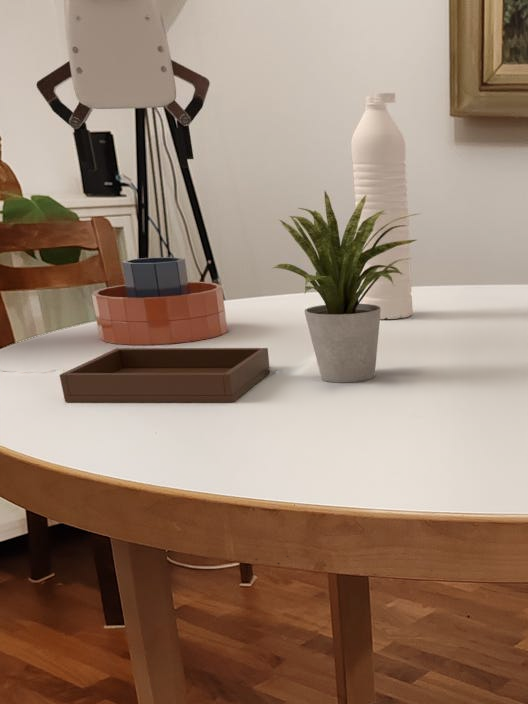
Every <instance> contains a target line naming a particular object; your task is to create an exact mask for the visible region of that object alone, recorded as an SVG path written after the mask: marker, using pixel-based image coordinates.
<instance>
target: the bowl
mask: <svg viewBox="0 0 528 704" xmlns="http://www.w3.org/2000/svg"><path fill="white" fill-rule="evenodd" d="M188 285H189V292H190V294H186V295H176V296H165V297H140V298H128V296H127V290H126V284H121V285H114V286H109V287H104V288H103V287H102V288H100V289H96V290H94V291H93V292H91V298H92V305H93V308H94V309H93V310H94V313H95V320H96V325H97V330H98V335H99V340H101V341H103V342H105V343H109V344H114V345H127V346H128V345H129V346H141V345H142V346H148V345H149V346H155V345H171V344H172V345H173V344H182V343H191V342H197V341H203V340H209V339H212V338H216V337H219V336H223V335H224V334H226V333H227V332H228V322H227V315H226V307H225V306H226V305H225V298H224V291H223V286H222V284H218V283H216V282H208V281H207V282H206V281H189V280H188Z"/></svg>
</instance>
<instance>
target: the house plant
mask: <svg viewBox="0 0 528 704" xmlns="http://www.w3.org/2000/svg"><path fill="white" fill-rule="evenodd" d="M365 198H366V195H365V196H364V197H363V199H362V200H361V202H360V203H359V204H358V206H357V208H356V207H355V210H354V212H353V213H352V215H351V217H350V218H349V220H348V222H347V223H346V227H345V230H344V233H343V235H342V238H341V239H340V232H339V225H338V221H337V218H336V215H335V213H334V210H333V207H332V203H331V200H330V199H331V198H330V196H329V195H328V194H327V192H326V190H324V205H325V214H326V221H325V220H324V218H323V216H322V214H321V213H320V212H318V211H316V210H314V211H313V210H311V209H308V208H304V207H303V208H302V207H298V209H299V210H303V211H306V212H308V213H309V214H310V215H311V216H312V217H313V222H312V221H310V220H309V219H308V218H306V217H303V216H297V215H295V216H294V215H293V216H292V215H289V218H290V219H291V220H292V221H293V224H294V225H295V227H296V228H294V227H293V226H292V225H291V224H289V223H286V222H284V221H283V220H281V219H279V221H280V223H281V225H282V226H283V227H284V228H285V229H286V231H288V233H289V234H290V235H291V237H292V239H294V241H295V242H296V244H298V246H300V248H301V249H302V251H304V252H303V253H305V254H306V257H308V259H309V261H310V262H311V264H312V266H313V268H314V270H315V274H309V273H308V272H307V271H305V270H303V269H302V268H301V267H298V266H296V265H293V264H290V263H279V264H277V265H275V266H273V267H272V269H282V270H286V271H289V272H292V273H295V274H297V275H299V276H301V277H303V278H304V279H305V284H304V285H305V286H304V294H306V293H307V292H308V291H309V290H312V289H314V290H315V291H316V292H317V293H318V294H319V296H320V297H321V299H322V300H323V302H324V304H321V305H315V306H310V307H307V308H304V316H305V319H306V323H307V327H308V331H309V334H310V338H311V343H312V347H313V351H314V355H315V358H316V363H317V367H318V370H319V371H318V372H319V374H320V377H321V380H322V381H325V382H329V383H357V382H364V381H368V380H372V379H374V377H375V376H376V366H377V365H376V364H377V355H378V343H379V334H380V333H379V332H380V323H381V322H380V321H381V319H380V312H381V309H380V307H379V306H376V305H371V304H362V303H361V302H362V301H361V300H362V298H363V297H364V296H365V294H366V293H367V292H368V290H369V289H370V288H371V287H372V285H373V284H374V283H375V282H376V281H377V280H378V278H379V277H380V276H384V277H386V278H388V279H389V280H390V281H391V282H392V283H393V281H392V277H391V276H390V275H389V273H400V274H403V273H401V272H400V271H399V270H398V269H397V268H395V267H393V266H392V265H393V264H394V263H396V262H398V261H401V260H407V259H400V260H397V261H394V262H393V263H391V264H389V265H388V266H384V265H375V266H371V267H369V268H368V269H366V270H365V271H364V272H363V273H362V274H361V272H362V270H363V268H364V266H365V264H366V262H367V261H368V260H369V259H371V258H373V257H374V256H376V255H379V254H381V253H383V252H385V251H387V250H389V249H391V248H394V247H396V246H399V245H403V244H408V243H409V244H411V243H413V242H416V241H417V239H409V240H405V241H396V242H391V243H386V244H382V245H379V246H376V245H377V243H378V242H379V241H380V239H381V238H382V237H383V236H384V235H385V234H386V233H388V232H389V231H390V230H392V229H394V228H396V227H402V226H408V227H409V225H399V226H394V227H391V228H389V229H387V230H386V231H385V232H384V233H382V234H381V235H380V237H379V238H378V239H377V240H376V242H375V244H374V245H373V247H372V248H370V249H368V250H366V251H364V252H363V250H364V249H365V247H366V246H367V245H368V243H369V242H370V241H371V240H372V239H373V237H374V236H375V235H376V234H377V233H378V232H379V231H381V230H382V229H383V228H385V227H386V226H387V225H389V224H391V223H393V222H394V221H396V220H399V219H402V218H405V217H408V218H409V217H413V216H417V215H418V213H414V214H408V216H404V217H401V218H398V219H395V220H393V221H391V222H389V223H387V224H386V225H385V226H383V227H382V228H381V229H379V230H378V231H377V232H376V233H375V234H374V235H373V236H372V238H371V239H370V240H369V241H368V242H367V244H366V245H365V243H366V241H367V239H368V237H369V236H370V234H371V233H372V231H373V228H374V224H375V221H376V219H377V218H378V217H379V216H380V215H382V214H387V213H383V211H381V212H378V213H376V214H374V215H373V216H371V217H369V218H367V219H366V220H365V221H363V222H362V224H361V226H360V227H359V229H358V228H357V227H358V223H359V220H360V216H361V212H362V209H363V207H364V204H365ZM384 211H385V210H384ZM421 214H422V213H419V215H421ZM302 227H303V228H302ZM304 230H305V231H306V232H305V231H304ZM306 233H307V234H308V236H309V238H310V239H309V238H308V236H307V234H306ZM311 241H312V242H311ZM364 245H365V247H364ZM375 246H376V247H375ZM363 247H364V248H363ZM362 249H363V250H362ZM411 259H413V258H412V257H410V260H411ZM384 267H386V268H385V269H384V270H383V271H379V272H375V271H376V270H377V269H378V268H384ZM388 268H391V269H394V270H387V269H388ZM360 274H361V275H360ZM364 278H365V280H364V282H363V283H362V285H360V284H361V282H362V280H363V279H364ZM374 279H375V280H374ZM373 280H374V281H373ZM372 281H373V282H372ZM371 282H372V283H371ZM309 283H310V284H311V285H312V286H310V285H309V286H308V285H307V284H309ZM369 283H371V285H370V286H369V287H368V288H367V290H366V291H365V292H364V294H363V295H362V292H363V291H364V290H365V288H366V287H367V285H368V284H369ZM393 285H394V284H393ZM360 296H361V297H360Z"/></svg>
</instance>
